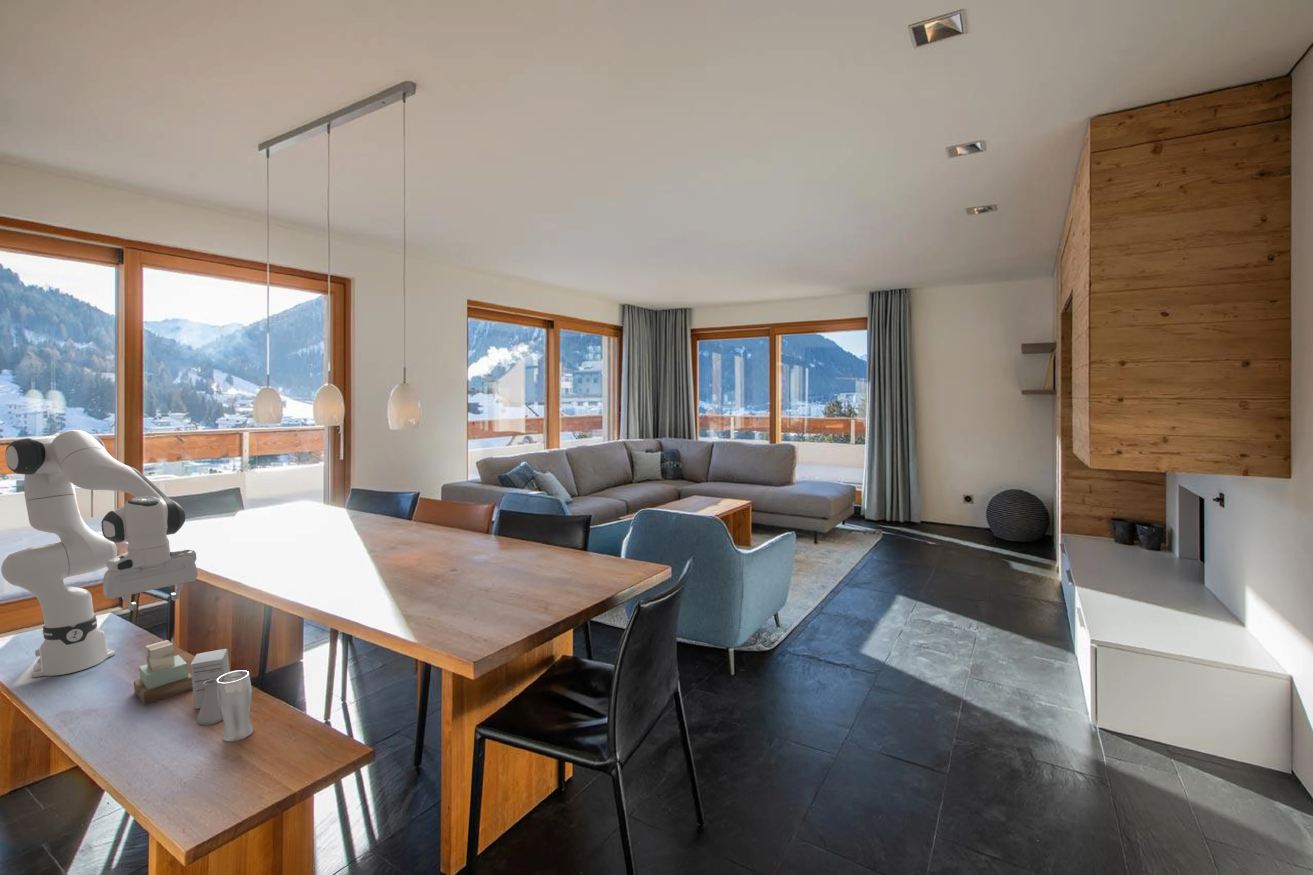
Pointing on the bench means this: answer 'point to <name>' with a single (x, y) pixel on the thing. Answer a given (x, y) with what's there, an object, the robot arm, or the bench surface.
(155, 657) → the birch block
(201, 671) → the supplement box
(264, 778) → the bench surface
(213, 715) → the flask
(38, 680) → the bench surface
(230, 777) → the bench surface
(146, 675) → the tower top block
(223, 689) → the beer glass
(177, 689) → the tower base slab
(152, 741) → the bench surface
